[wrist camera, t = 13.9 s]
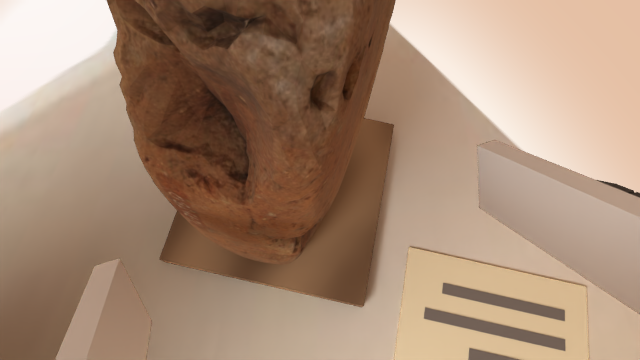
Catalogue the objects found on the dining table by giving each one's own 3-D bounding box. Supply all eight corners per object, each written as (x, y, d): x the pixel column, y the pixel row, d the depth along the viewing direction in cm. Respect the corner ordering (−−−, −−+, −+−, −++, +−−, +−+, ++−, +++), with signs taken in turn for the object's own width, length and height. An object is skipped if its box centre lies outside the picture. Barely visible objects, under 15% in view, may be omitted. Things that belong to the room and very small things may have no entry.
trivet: (164, 261, 25) (159, 259, 24) (224, 95, 30) (222, 87, 29) (361, 307, 25) (363, 305, 24) (390, 131, 30) (393, 124, 29)
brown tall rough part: (262, 107, 29) (197, -306, 10) (358, 141, 28) (480, -230, 10) (194, 245, 25) (-111, -11, 6) (305, 287, 24) (333, 146, 6)
